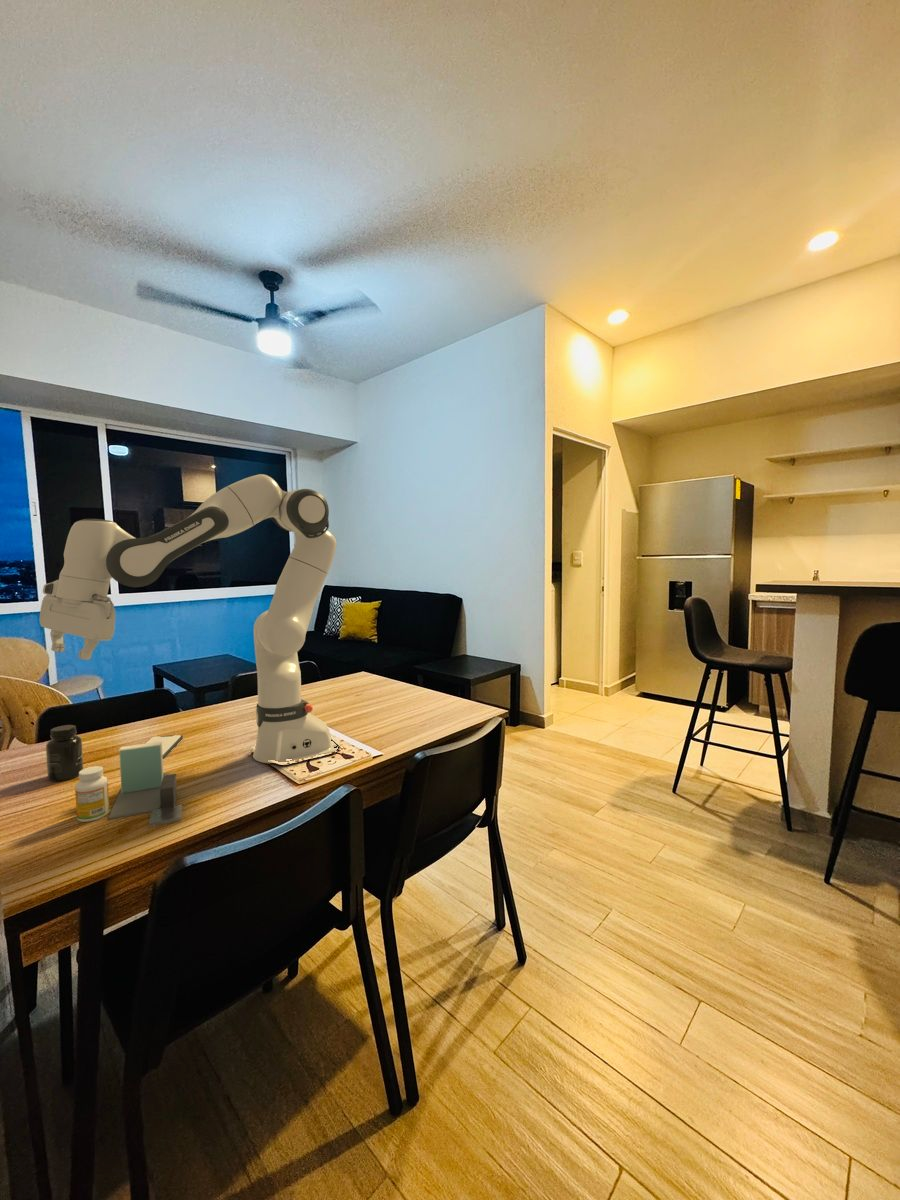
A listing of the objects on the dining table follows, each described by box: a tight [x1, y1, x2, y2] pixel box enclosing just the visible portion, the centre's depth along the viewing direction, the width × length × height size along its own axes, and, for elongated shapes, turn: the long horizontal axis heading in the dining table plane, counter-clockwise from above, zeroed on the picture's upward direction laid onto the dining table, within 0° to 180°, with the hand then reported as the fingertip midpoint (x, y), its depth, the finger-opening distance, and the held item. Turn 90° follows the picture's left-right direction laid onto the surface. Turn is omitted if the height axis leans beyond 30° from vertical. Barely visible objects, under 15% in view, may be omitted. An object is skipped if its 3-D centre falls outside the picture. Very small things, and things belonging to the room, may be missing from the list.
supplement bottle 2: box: [74, 765, 110, 823], centre depth 99 cm, size 5×5×10 cm
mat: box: [107, 772, 170, 820], centre depth 108 cm, size 9×19×1 cm, turn 25°
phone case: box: [144, 734, 184, 760], centre depth 134 cm, size 9×2×16 cm
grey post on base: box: [148, 773, 183, 827], centre depth 102 cm, size 12×6×5 cm, turn 25°
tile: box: [118, 742, 164, 793], centre depth 110 cm, size 8×2×10 cm, turn 115°
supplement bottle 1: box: [45, 724, 84, 782], centre depth 117 cm, size 7×7×12 cm
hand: (70, 655), depth 104 cm, fingers open, 8 cm apart
